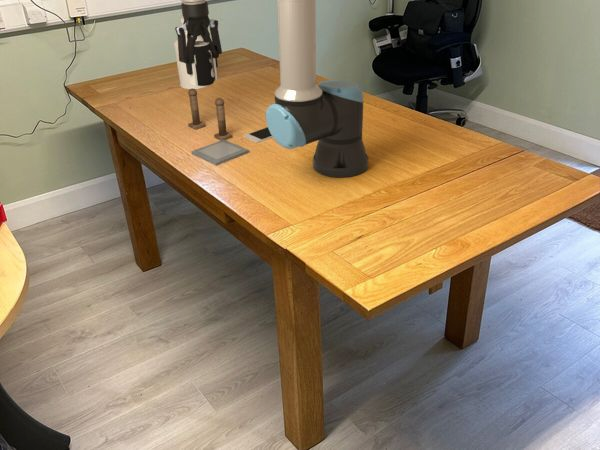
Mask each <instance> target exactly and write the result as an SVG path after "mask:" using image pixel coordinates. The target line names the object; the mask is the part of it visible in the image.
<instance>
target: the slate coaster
mask: <svg viewBox="0 0 600 450" xmlns="http://www.w3.org/2000/svg"><path fill="white" fill-rule="evenodd" d="M190 153H191V155H193V156H195V157H197V158H200V159H201V160H204V161H206V162H208V163H210V164H212V165H215V166H218V165H222V164H223V163H224V164H225V163H226V162H229V161H231V160H234V159H237V158H239V157H241V156H244V155H247V154H249V153H250V150H249V149H248V148H246V147H243V146H241V145H239V144H235V143H233V142H231V141H228V139H226V140H217V141H216V142H212V143H210V144H208V145H205V146H203V147H200V148H197V149H194V150H191V152H190Z"/></svg>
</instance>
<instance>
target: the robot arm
mask: <svg viewBox="0 0 600 450" xmlns="http://www.w3.org/2000/svg"><path fill="white" fill-rule="evenodd" d="M180 2H181V4H180V8H181V13H182V18H184V23H183V25H182V24H181V26H176V27H175V28H174V30H175V33H176V35H177V39H178V52H179V61H180V62H183V63H185V64H186V69H187V74H189V76H190V83H191V84H192V85H195V86H197V85H198V82H197V74H196V67H195V63H192V62H193V55H194V49H195V42H196V40H197V36H200V37H201V38H202V39H203V41H204V42H206V43H208V42H209V45H210V46H211V51H212V59H213V68H214V77H215V81H217V80H218V73H217V68H218V58H219V57H220V55H221V54H223V49H222V44H221V39H220V33H219V21H218V20H217V19H210V18H209V14H210V12H209V3H208V1H207V0H180ZM276 4H277V5H276V6H277V30H278V32H277V33H278V54H279V56H278V57H279V78H280V85H279V86H278V88H276V90H275V91H274V103H273V104H271V105H269V106H268V108H267V109H266V112H265V119H266V120H265V122H266V125H267V126H266V127H268V129H269V131H270V133H271V135H272V136H273V137H272V138H273V139H274V141H275V142H276V143H277V144H278V145H279V146H281V147H283V149H288V150H291V149H292V150H293V149H296V148H303V147H305V146H307V145H309V144H311V143H314V142H317V144H316V147H315V152H314V154H313V157H312V168H313V170H315V172H316V173H318V174H321V175H322V176H326V177H331V178H348V177H349V178H350V177H351V178H352V177H356V176H358V175H361V174H363V173H364V172H366V171H367V170H368V168H369V156H368V154H367V152H366V147H365V143H364V141H363V125H364V124H363V123H364V120H363V119H364V103H365V101H364V91H363V88H362V87H361V86H360V85H359V84H357V83H355V82H352V81H346V80H339V79H338V80H337V79H329V80H328V79H327V80H321V81H319V82H318V84H317V33H316V32H317V31H316V30H317V25H316V24H317V23H316V20H317V17H316V12H317V11H316V8H317V7H316V0H276ZM208 28H209V29H208ZM185 30H187V46H186V35H185V33H186V31H185ZM192 36H193V37H192Z"/></svg>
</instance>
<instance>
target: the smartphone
mask: <svg viewBox="0 0 600 450" xmlns="http://www.w3.org/2000/svg"><path fill="white" fill-rule="evenodd" d="M242 137H243V138H244V139H247V140H250V141H252V143H253V142H254V143H261V142H263V141H267V140H269V139H272V138H273V136H272V135H271V133H270V131H269V129H268V126H266V127H264V128H261V129H258V130H255V131H252V132H249V133H247V134H244V135H243V136H242Z"/></svg>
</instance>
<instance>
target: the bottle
mask: <svg viewBox="0 0 600 450" xmlns="http://www.w3.org/2000/svg"><path fill="white" fill-rule="evenodd" d="M180 23H181V26H182V25H183V23H184V18H183V17H181V18H180ZM185 31H186V33H185V35H186V46H187V30H185ZM192 37H193V36H192ZM196 41H203V38H202V37H201V36H197V40H196ZM173 48H174V54H175V60H176V64H177V65H176V66H177V72H178V78H179V85H180V87H181V88H182V89H186V90H190V89H192V88H193V89H195V90H198V89H202V88H206V87H208V86H209V85H207V86H195V85H192V84H191V83H190V76H189V74H187V69H186V64H185V63H183V62H180V61H179V52H178V38H177V39H176V40H175V42H174V43H173Z"/></svg>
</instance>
